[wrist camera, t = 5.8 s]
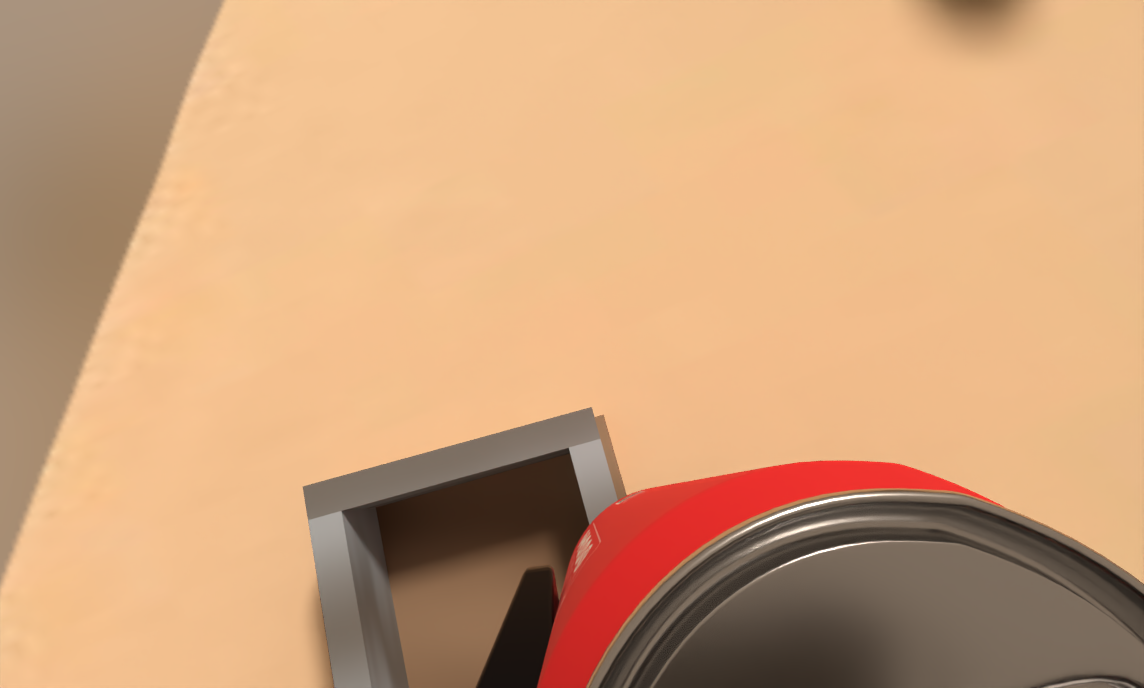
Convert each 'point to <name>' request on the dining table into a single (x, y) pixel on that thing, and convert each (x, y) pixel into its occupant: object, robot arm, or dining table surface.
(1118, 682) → the beverage can
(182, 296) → the dining table surface
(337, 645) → the socket board
